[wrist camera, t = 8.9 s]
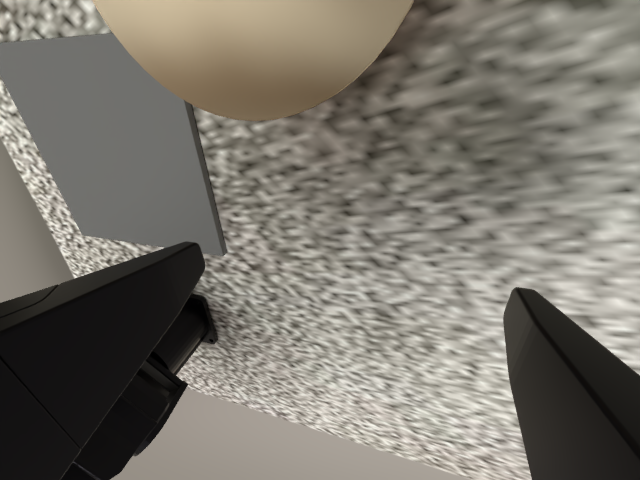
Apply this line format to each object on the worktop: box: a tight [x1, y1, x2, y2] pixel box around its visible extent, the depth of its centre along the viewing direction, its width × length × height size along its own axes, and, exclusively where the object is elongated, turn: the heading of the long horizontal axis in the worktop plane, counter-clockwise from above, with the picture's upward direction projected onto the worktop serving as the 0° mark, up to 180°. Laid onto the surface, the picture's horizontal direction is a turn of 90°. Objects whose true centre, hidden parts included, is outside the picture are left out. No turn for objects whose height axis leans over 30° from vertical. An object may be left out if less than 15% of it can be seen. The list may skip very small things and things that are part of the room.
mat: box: [0, 33, 227, 256], centre depth 25 cm, size 16×16×1 cm
